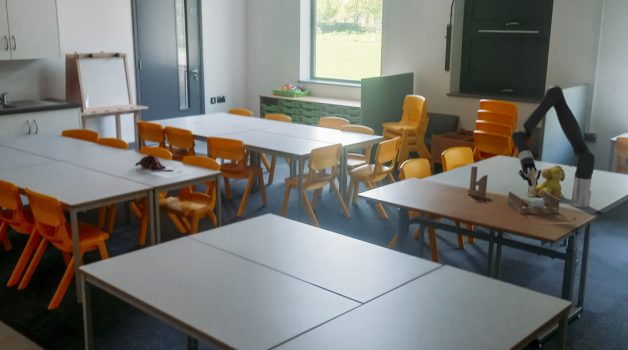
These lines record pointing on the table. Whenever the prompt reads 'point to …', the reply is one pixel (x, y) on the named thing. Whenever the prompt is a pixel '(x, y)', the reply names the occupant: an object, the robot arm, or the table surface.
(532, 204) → the grey offcut
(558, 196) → the yellow stuffed toy
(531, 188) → the tan wooden bar
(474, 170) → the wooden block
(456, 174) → the table surface
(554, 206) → the brown wooden tray
